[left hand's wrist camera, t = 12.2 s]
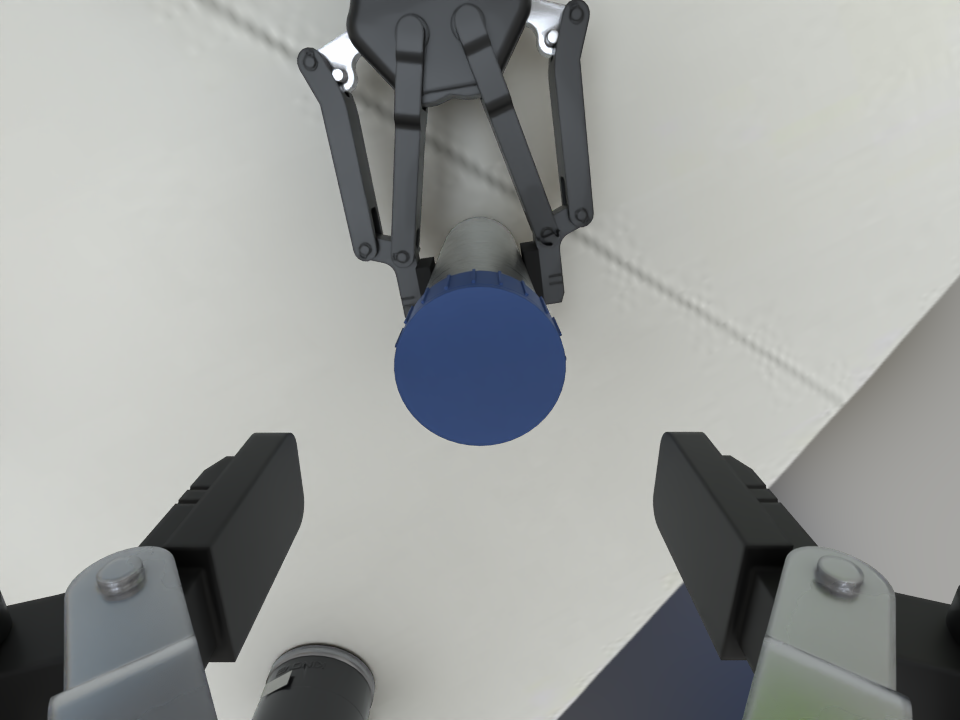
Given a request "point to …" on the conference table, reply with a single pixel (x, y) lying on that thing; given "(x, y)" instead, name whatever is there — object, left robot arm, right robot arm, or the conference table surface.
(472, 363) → the lid
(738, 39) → the conference table surface
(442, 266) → the jar
